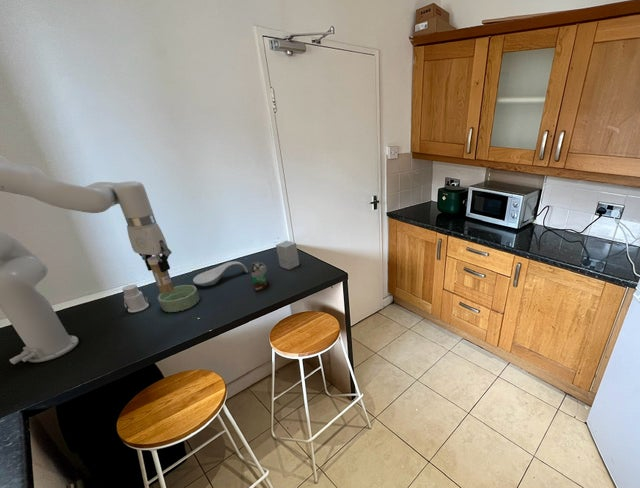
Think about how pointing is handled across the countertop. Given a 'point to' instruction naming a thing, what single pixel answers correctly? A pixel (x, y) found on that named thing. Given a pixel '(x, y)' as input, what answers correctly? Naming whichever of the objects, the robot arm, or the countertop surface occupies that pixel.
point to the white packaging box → (287, 254)
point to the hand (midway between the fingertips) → (159, 269)
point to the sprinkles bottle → (160, 276)
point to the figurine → (259, 275)
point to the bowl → (179, 298)
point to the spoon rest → (215, 274)
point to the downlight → (134, 299)
